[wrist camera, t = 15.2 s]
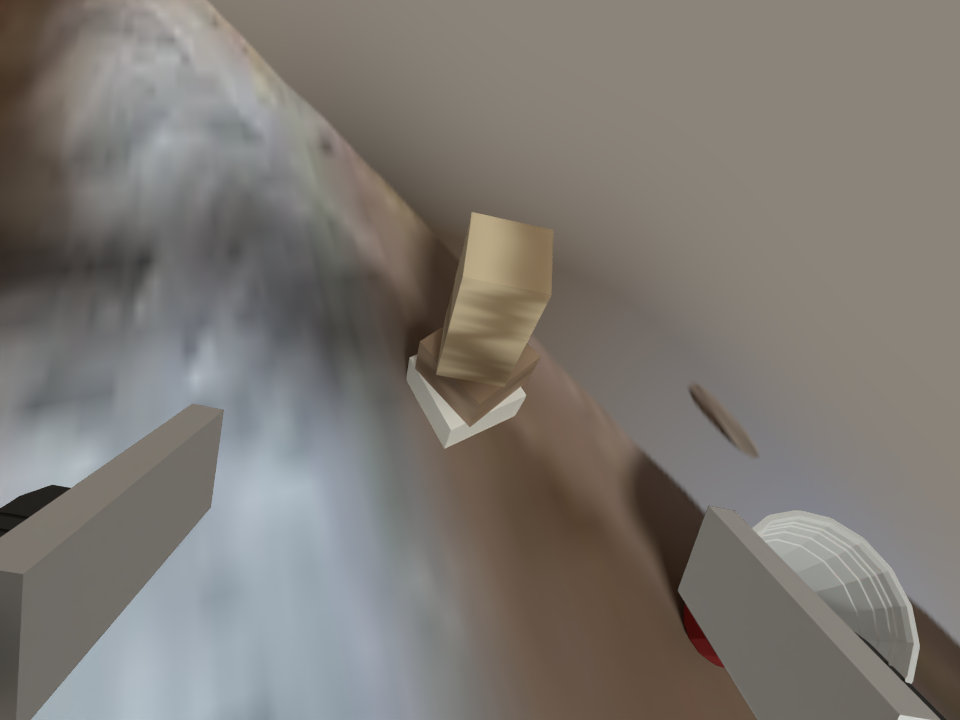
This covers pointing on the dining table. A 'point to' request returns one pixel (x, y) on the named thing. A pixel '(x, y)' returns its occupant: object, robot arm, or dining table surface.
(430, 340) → the walnut block
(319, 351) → the dining table surface
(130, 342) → the dining table surface
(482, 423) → the offwhite block
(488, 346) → the oak block
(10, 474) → the dining table surface
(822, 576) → the plastic cup
